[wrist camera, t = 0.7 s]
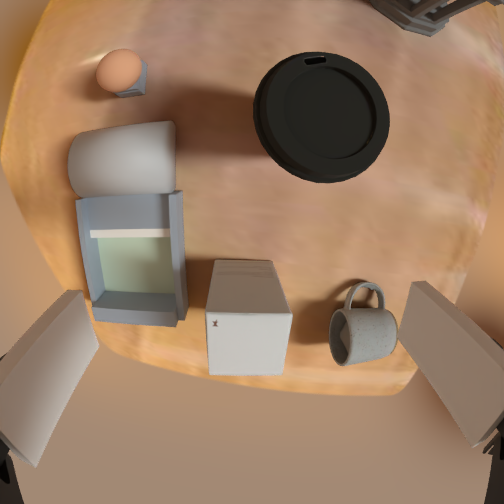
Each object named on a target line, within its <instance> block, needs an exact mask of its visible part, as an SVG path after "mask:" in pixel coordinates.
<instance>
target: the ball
mask: <svg viewBox="0 0 504 504" xmlns="http://www.w3.org/2000/svg"><path fill="white" fill-rule="evenodd" d="M141 72H142V63H141V60H140V58H139V56H138V55H137V54H136V53H135V52H133V51H131V50H128V49H118V50H114V51H112V52H110V53H108V54H107V55H106V56H104V57H103V58H102V60H101V61H100V63H99V65H98V67H97V71H96V78H97V81H98V83H99V85H100V86H101V87H102V88H103V89H105V90H106V91H109V92H122V91H125V90H127V89H129V88H130V87H132V86H133V85H134V84H135V83H136V82H137V80H138V79H139V77H140V75H141Z"/></svg>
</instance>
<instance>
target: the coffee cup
mask: <svg viewBox="0 0 504 504" xmlns="http://www.w3.org/2000/svg"><path fill="white" fill-rule="evenodd" d="M320 56H324V57H320ZM253 119H254V124H255V129H256V132H257V135H258V137H259V139H260V142H261V144H262V145H263V147H264V148H265V150H266V151H267V153H268V154H269V156H270V157H271V158H272V159H273V160H274V161H275V162H276V163H277V164H278V165H279V166H280V167H282V168H283V169H285V170H286V171H288V172H289V173H291V174H292V175H295V176H297V177H299V178H301V179H303V180H307V181H312V182H316V183H335V182H341V181H345V180H348V179H350V178H353V177H356V176H357V175H359V174H360V173H362V172H363V171H365V170H366V169H367V168H368V167H369V166H370V165H371V164H372V163H373V162H374V161H375V160H376V158H377V157H378V155H379V154H380V152H381V150H382V149H383V147H384V145H385V143H386V140H387V137H388V133H389V127H390V116H389V109H388V105H387V101H386V99H385V96H384V94H383V91H382V90H381V88H380V86H379V85H378V83H377V82H376V80H375V79H374V78H373V77H372V76H371V75H370V74H369V72H367V71H366V70H365V69H364V68H363V67H361V66H360V65H359V64H357V63H355V62H354V61H352V60H350V59H348V58H346V57H343V56H340V55H337V54H332V53H325V52H304V53H300V54H296V55H292V56H290V57H288V58H286V59H284V60H282V61H280V62H279V63H278V64H276V65H275V66H274V67H273V68H271V69H270V70H269V71H268V72H267V74H266V75H265V76H264V77H263V79H262V80H261V82H260V84H259V86H258V88H257V91H256V94H255V98H254V103H253Z"/></svg>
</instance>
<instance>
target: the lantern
mask: <svg viewBox="0 0 504 504" xmlns="http://www.w3.org/2000/svg"><path fill="white" fill-rule="evenodd" d="M369 1H370V2H371V4H372V5H373V7H374V8H375V9H376V10H378V11H379V12H381V13H382V14H384V15H385V16H386V17H388V18H389V19H391V20H392V21H393V22H395V23H396V24H397V25H399V26H400V27H401V28H403V29H404V30H407V31H411V32H415V33H419V34H422V35H426V36H429V37H431V36H433V35H434V34H435V33H437V32H438V31H440V30H441V29H442V28H444V27H445V24H446V23H447V22H449V18H450V17H452V16H454V15H456V14H458V13H460V12H462V11H464V10H467V9H469V8H471V7H473V6H476V5H478V4H481V3H483V2H485V1H488V2H489V3H491V4H492V5H494V6H496V5H499V4H504V0H456V1H454V2H452V3H450V4H448V5H447V1H449V0H369Z"/></svg>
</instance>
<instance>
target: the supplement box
mask: <svg viewBox="0 0 504 504" xmlns="http://www.w3.org/2000/svg"><path fill="white" fill-rule="evenodd" d="M292 317H293V314H292V312H291V310H290V307H289V305H288V302H287V299H286V296H285V294H284V291H283V288H282V285H281V283H280V280H279V277H278V274H277V271H276V269H275V267H274V264H273V262H272V261H254V260H217V259H216V260H215V262H214V268H213V273H212V278H211V283H210V288H209V294H208V299H207V304H206V309H205V324H206V341H207V354H208V365H209V374H210V375H239V376H261V375H282V374H283V368H284V361H285V356H286V351H287V345H288V340H289V334H290V329H291V323H292Z"/></svg>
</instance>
